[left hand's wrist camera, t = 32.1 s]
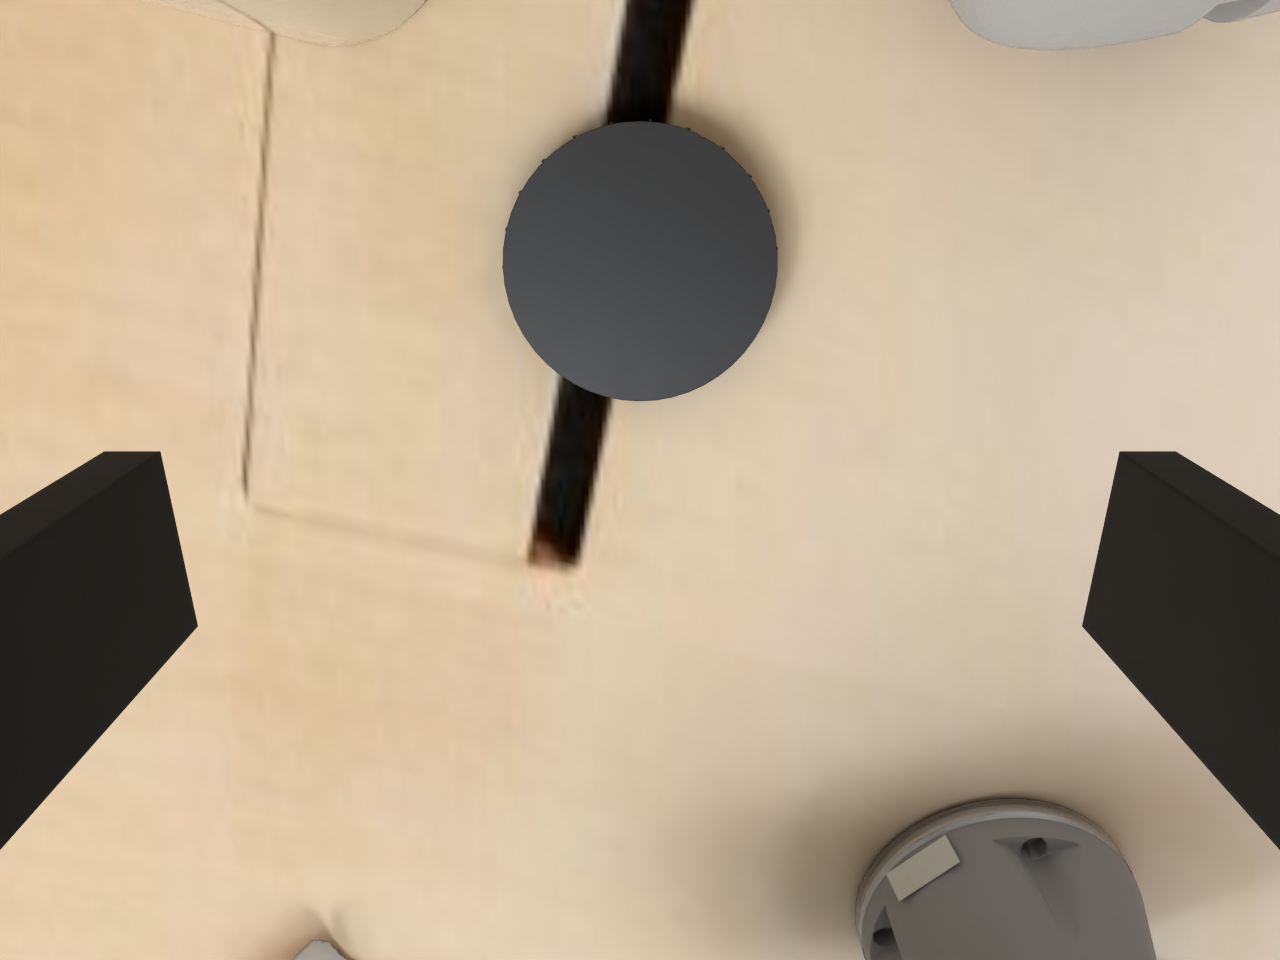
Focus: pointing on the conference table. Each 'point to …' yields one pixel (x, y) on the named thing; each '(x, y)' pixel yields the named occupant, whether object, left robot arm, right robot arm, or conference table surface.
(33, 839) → the conference table surface
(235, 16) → the jar
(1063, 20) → the projector
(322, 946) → the fish
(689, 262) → the lid
